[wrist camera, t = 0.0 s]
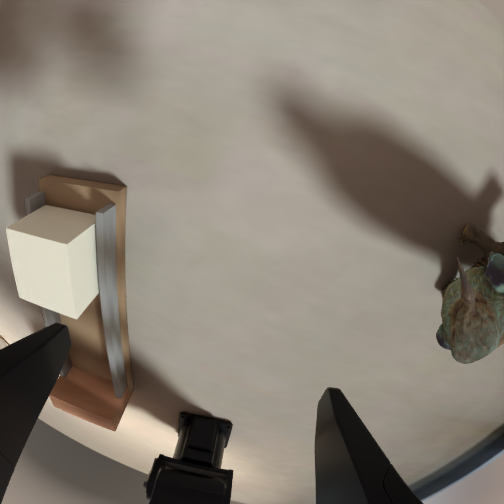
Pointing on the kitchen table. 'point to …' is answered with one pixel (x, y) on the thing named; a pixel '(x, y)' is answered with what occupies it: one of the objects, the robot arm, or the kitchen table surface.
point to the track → (94, 307)
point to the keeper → (55, 259)
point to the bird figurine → (475, 303)
